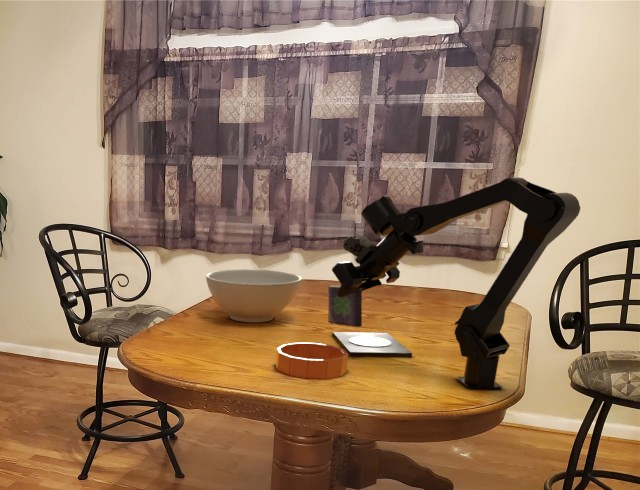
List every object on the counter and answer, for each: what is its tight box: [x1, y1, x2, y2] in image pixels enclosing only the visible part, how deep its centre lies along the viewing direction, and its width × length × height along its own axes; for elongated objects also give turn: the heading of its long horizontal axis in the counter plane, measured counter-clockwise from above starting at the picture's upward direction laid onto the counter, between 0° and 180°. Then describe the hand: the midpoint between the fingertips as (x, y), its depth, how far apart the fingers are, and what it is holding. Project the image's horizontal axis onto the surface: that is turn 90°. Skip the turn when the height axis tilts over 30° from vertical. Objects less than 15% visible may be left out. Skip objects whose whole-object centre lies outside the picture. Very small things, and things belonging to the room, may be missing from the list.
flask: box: [327, 284, 363, 328], centre depth 161 cm, size 9×3×11 cm, turn 33°
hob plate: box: [331, 331, 413, 358], centre depth 168 cm, size 20×14×1 cm
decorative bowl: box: [205, 268, 303, 323], centre depth 197 cm, size 27×27×12 cm
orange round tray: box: [274, 342, 349, 380], centre depth 149 cm, size 15×15×4 cm
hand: (342, 294), depth 161 cm, fingers closed on flask, 3 cm apart
